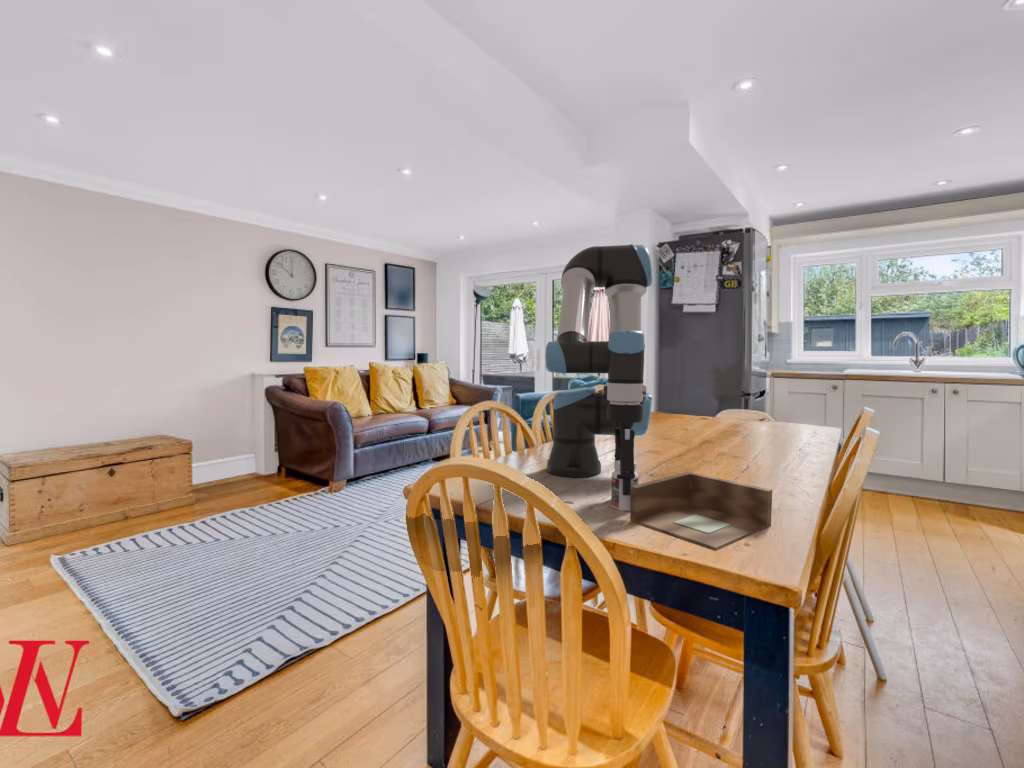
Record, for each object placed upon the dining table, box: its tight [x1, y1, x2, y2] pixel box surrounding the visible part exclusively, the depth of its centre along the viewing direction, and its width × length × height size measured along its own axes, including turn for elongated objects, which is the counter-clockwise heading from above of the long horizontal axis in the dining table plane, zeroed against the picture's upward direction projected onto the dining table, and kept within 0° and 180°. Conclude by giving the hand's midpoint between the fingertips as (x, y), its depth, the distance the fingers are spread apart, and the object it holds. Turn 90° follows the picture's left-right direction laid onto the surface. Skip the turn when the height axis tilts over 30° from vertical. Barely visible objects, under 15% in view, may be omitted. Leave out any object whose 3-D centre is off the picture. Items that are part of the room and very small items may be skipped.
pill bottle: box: [610, 460, 639, 511], centre depth 109 cm, size 6×6×10 cm
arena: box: [629, 471, 773, 550], centre depth 99 cm, size 18×20×7 cm
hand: (622, 500), depth 109 cm, fingers open, 13 cm apart
